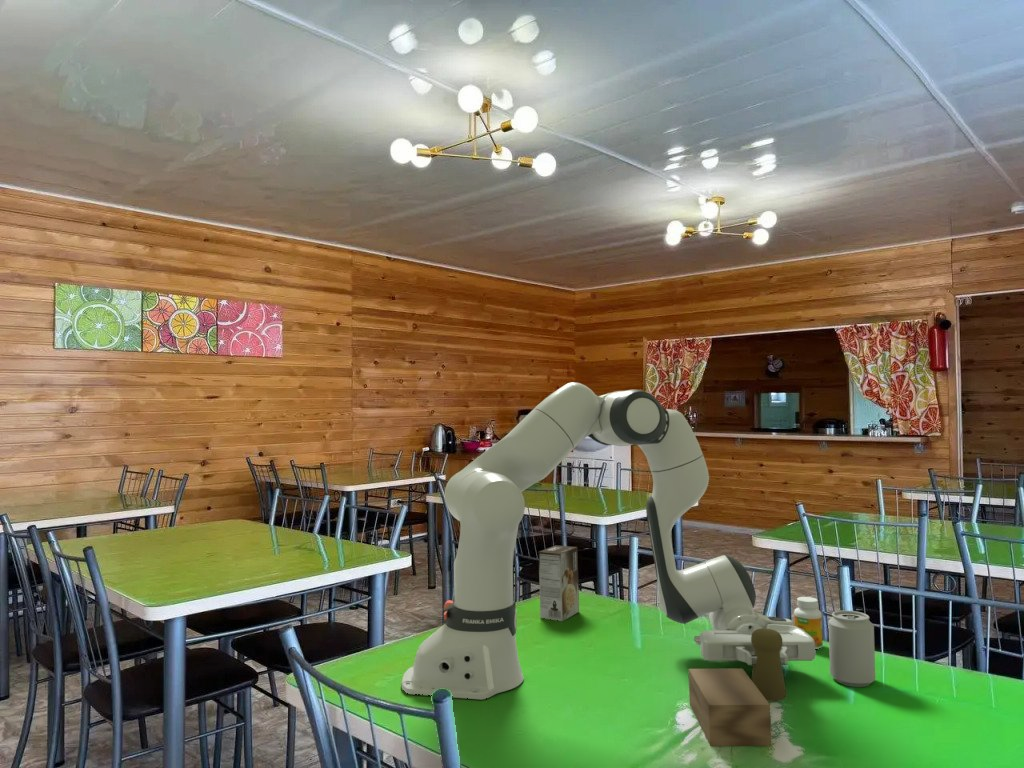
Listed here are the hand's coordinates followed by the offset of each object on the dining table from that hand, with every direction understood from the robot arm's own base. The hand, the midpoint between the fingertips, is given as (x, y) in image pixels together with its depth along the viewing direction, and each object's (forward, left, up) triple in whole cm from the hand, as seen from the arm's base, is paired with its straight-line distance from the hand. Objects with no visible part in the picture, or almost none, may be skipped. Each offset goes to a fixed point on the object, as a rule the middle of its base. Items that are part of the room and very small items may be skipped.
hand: (768, 660), depth 127 cm
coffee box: (-35, +50, -6) cm, 61 cm away
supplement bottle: (+16, +26, -6) cm, 31 cm away
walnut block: (-10, -11, -6) cm, 16 cm away
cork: (0, +1, -6) cm, 6 cm away
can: (+17, +7, -6) cm, 19 cm away
